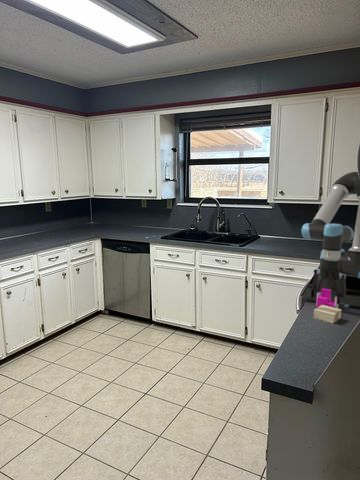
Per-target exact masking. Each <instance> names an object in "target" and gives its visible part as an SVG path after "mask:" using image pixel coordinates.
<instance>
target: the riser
mask: <svg viewBox="0 0 360 480" xmlns="http://www.w3.org/2000/svg"><path fill="white" fill-rule="evenodd" d="M313 318H315V319H314V320H317V319H319V320H318V321H321V320H323V321H322V322H325V321H326V323H329V322H330V323H329V324H335V323H337V322H338V321H340V320H341V319H342V309H341V308H338V309H337V308H333V307H329V306H325V305H321V306H319V307H318V308H317V307H316V308H314V309H313ZM340 318H341V319H340ZM339 319H340V320H339ZM337 320H338V321H337ZM334 322H335V323H334Z"/></svg>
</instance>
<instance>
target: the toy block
mask: <svg viewBox="0 0 360 480" xmlns="http://www.w3.org/2000/svg"><path fill="white" fill-rule="evenodd" d="M331 296H332V294H331V290H330V289H322V293H321V296H318V298H317V299H316V302H317V307H316V308H318V307H319V306H321V305H325V306H329V307H333V308H334V304H335V301H332V300H331V298H332V297H331Z"/></svg>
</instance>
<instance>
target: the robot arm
mask: <svg viewBox="0 0 360 480" xmlns="http://www.w3.org/2000/svg"><path fill="white" fill-rule="evenodd" d="M358 172H359V171H352V172H348V173H345V174H344V175H342V176H340V177H339V178H338V179H336V181H335V182H333V184H332V185H331V187H330V188H329V194H328V195H327V197H326V199H324V201H323V203H322V205H321V206H320V208H319V210H318V211H317V213H316V214H315V216H314V217H313V219H312V221H310V222H311V223H308V222H307V223H304V224H303V225H302V227H301V235H302V238H303V239H306V240H311V241H313V240H315V241H322V250H321V251H320V255H319V268H316V269H314V270H313V274H314V275H313V278H312V283H311V287H310V288H311V289H310V290H312V291H313V292H314V298H315V300H317V298H318V296H321V294H322V289H330V290H331V295H336V296H335V297H334V302H335V304H334V308H337V309H339V305H340V304H341V303H342V298H345V297H346V296H347V283H346V282H347V281H346V279H347V276H348V277H354V278H358V279H360V178H359V175H358ZM351 195H356V199H357V200H358V201H359V202H358V207H357V213H356V218H355V219H356V220H355V225H354V226H355V227H354V230H353V229H352V228H351V227H350V226H349V225H342V224H341V223H331V221H332V220H333V218H334V217H335V215H336V214H337V211H338V210H339V208H340V207H341V205H342V204H343V201H344V200H345V199H347V198H348V197H349V196H351ZM351 240H352V246H351V247H350V248H349V249H348V250H347V252H346V251H345V249H343V248H342V245H343V244H346V243H349V242H350V241H351ZM316 306H317V301H316V305H315V307H316Z"/></svg>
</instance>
